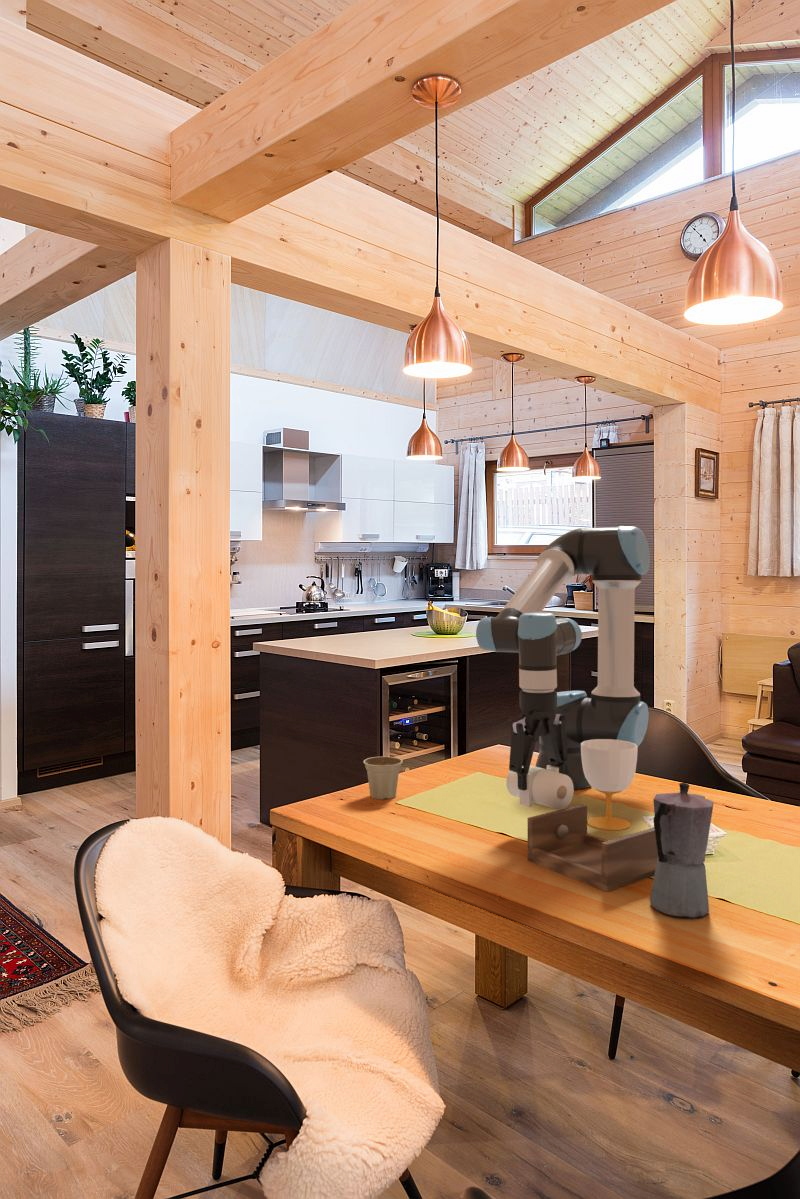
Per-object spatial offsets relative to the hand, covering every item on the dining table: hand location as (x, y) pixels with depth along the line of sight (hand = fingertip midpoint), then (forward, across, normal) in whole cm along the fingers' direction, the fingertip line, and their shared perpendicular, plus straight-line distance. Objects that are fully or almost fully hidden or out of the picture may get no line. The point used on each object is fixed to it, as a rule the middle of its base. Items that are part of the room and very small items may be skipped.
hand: (539, 801), depth 166 cm
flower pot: (+8, +9, -44) cm, 45 cm away
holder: (+7, +5, +18) cm, 20 cm away
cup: (+8, -17, +3) cm, 19 cm away
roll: (0, +1, 0) cm, 1 cm away
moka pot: (+7, +9, +39) cm, 41 cm away
